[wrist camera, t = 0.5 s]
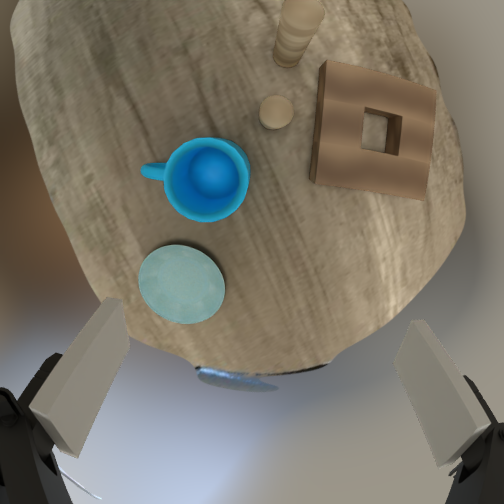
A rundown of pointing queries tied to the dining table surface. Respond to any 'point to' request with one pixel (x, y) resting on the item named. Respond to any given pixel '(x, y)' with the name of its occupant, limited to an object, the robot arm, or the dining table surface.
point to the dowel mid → (275, 112)
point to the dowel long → (296, 30)
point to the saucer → (181, 284)
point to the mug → (204, 178)
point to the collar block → (351, 125)
